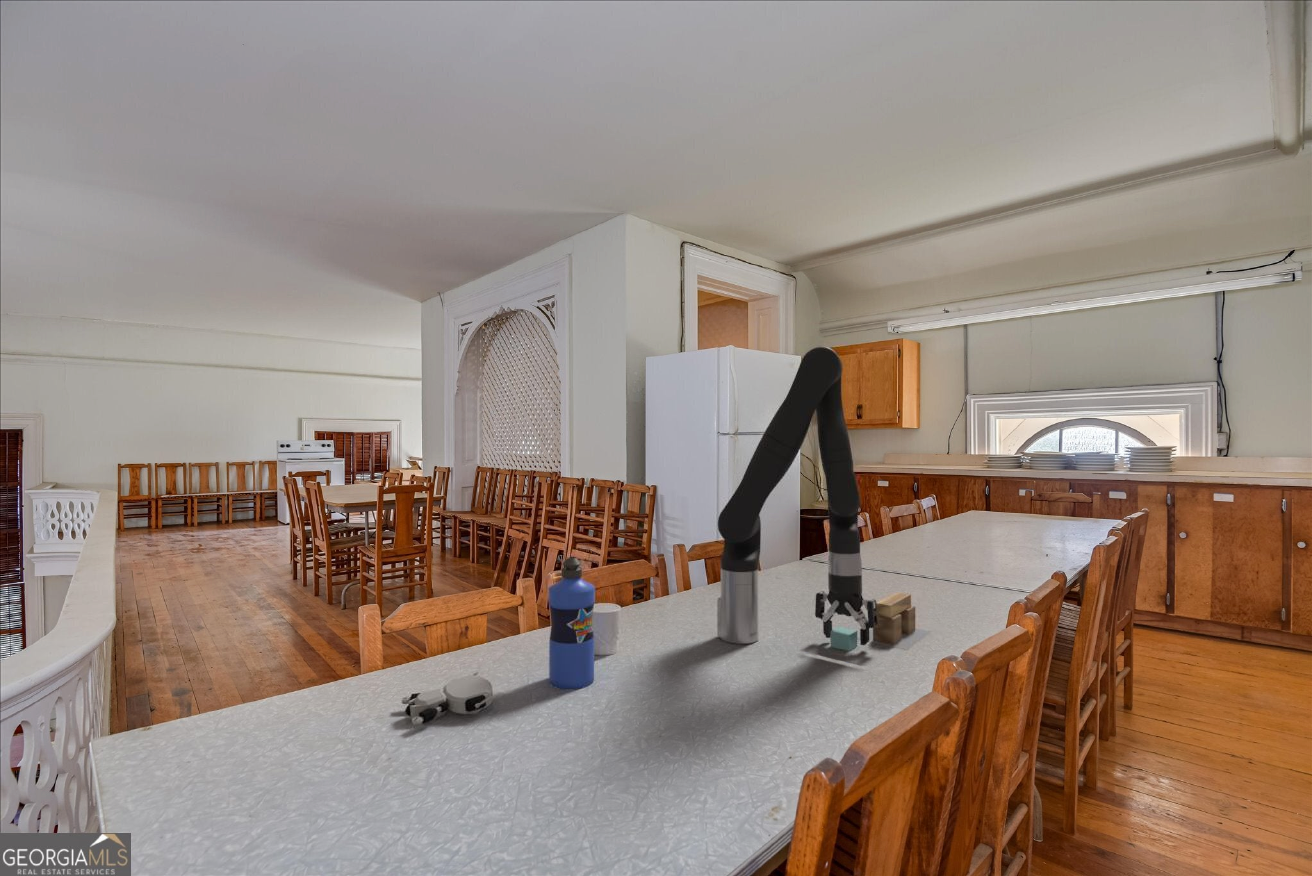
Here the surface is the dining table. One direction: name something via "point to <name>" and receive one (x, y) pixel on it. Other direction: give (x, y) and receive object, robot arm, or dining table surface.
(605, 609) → the white cup
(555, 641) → the water bottle
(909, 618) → the pillar
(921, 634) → the board
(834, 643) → the cube
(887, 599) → the plank
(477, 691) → the robot toy
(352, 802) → the dining table surface
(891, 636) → the pillar
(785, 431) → the robot arm
